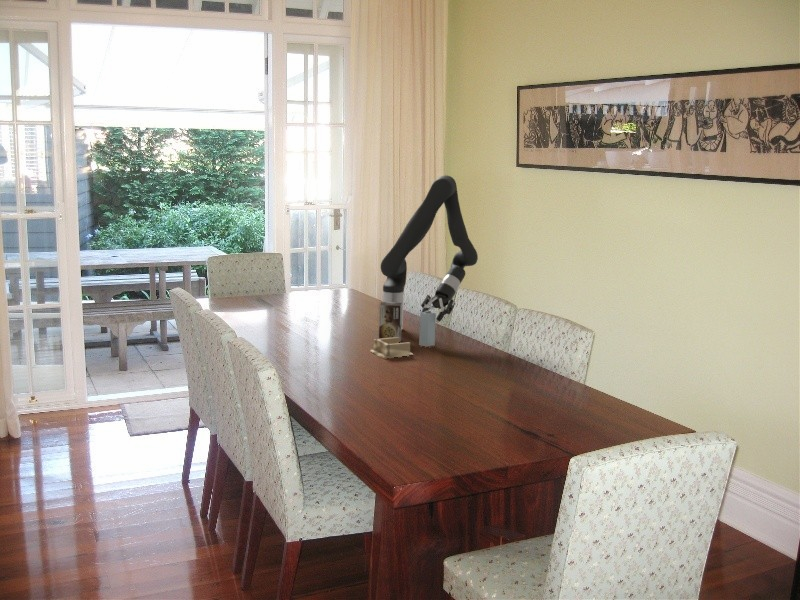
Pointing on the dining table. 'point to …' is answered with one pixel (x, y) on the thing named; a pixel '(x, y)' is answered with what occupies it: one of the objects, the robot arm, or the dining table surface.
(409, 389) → the dining table surface
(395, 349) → the keeper pocket
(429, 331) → the post
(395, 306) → the coffee box
